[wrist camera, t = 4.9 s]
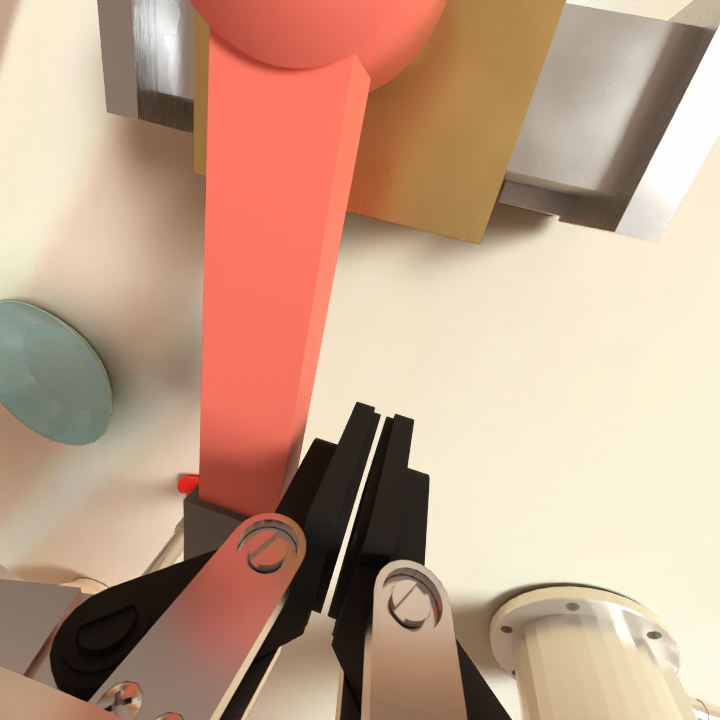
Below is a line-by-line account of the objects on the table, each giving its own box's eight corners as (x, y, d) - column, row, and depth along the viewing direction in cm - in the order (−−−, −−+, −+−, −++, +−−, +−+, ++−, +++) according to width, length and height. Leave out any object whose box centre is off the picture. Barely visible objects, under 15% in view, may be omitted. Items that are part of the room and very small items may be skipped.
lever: (233, -258, 5) (124, -489, 3) (504, -225, 5) (538, -469, 3) (205, 530, 13) (166, 583, 11) (308, 569, 13) (285, 630, 11)
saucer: (-9, 364, 30) (-42, 376, 28) (21, 258, 25) (-16, 263, 23) (106, 452, 32) (82, 469, 30) (157, 368, 27) (133, 382, 25)
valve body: (660, 37, 14) (2017, -988, 2) (565, 246, 17) (826, 352, 5) (234, -39, 16) (-439, -789, 4) (226, 163, 19) (-137, 106, 7)
